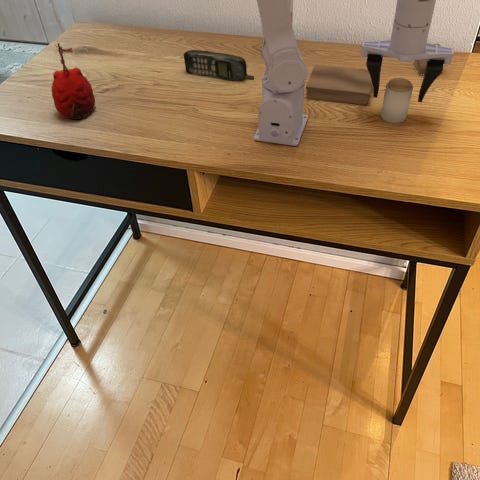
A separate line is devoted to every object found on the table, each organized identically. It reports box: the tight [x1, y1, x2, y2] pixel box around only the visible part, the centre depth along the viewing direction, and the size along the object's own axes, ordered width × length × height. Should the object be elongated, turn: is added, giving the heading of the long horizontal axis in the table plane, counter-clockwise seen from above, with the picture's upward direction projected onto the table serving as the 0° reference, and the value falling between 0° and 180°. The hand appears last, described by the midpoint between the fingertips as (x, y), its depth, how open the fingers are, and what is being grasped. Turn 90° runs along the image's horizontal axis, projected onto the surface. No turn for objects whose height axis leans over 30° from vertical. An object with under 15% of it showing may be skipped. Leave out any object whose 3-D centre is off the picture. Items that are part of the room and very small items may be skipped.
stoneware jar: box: [380, 77, 414, 124], centre depth 90 cm, size 5×5×6 cm
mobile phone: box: [183, 49, 255, 81], centre depth 105 cm, size 5×3×15 cm
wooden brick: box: [305, 64, 373, 106], centre depth 99 cm, size 9×12×2 cm
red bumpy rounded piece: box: [50, 43, 96, 120], centre depth 93 cm, size 8×7×15 cm
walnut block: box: [412, 43, 445, 76], centre depth 103 cm, size 4×4×4 cm
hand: (397, 97), depth 90 cm, fingers open, 7 cm apart
